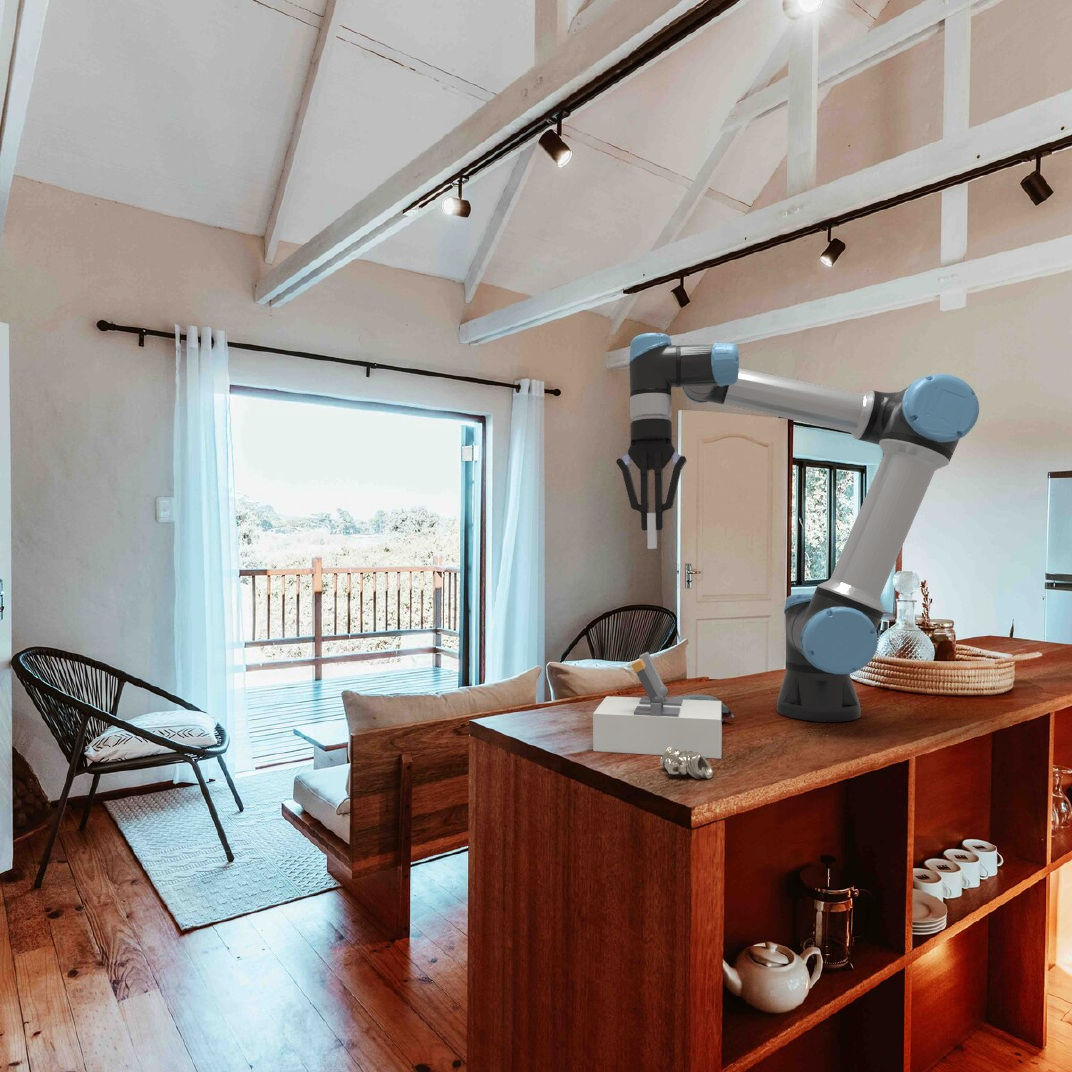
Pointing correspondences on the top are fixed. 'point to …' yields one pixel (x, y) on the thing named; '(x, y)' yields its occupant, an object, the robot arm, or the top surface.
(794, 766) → the top surface
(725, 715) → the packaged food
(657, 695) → the lever
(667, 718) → the box
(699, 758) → the ornament
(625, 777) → the top surface
